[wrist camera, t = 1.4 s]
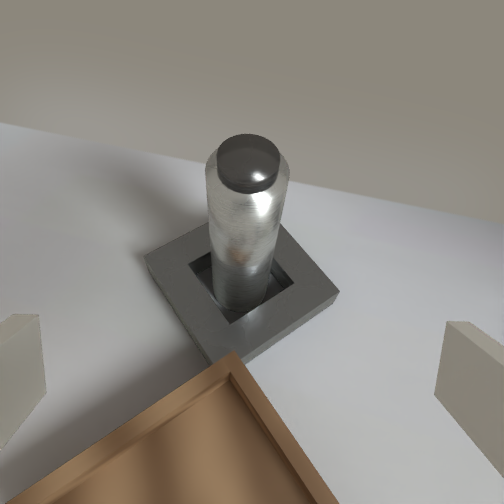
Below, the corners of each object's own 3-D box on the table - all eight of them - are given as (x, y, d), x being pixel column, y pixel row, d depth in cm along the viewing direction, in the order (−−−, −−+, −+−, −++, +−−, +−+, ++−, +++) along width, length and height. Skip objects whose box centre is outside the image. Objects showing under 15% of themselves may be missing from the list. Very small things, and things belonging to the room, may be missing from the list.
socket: (255, 213, 36) (256, 196, 34) (332, 303, 32) (340, 291, 30) (148, 270, 33) (143, 256, 30) (220, 381, 28) (219, 373, 26)
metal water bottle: (246, 255, 34) (258, 115, 21) (276, 293, 32) (310, 166, 19) (203, 280, 32) (187, 146, 20) (232, 321, 31) (236, 204, 18)
